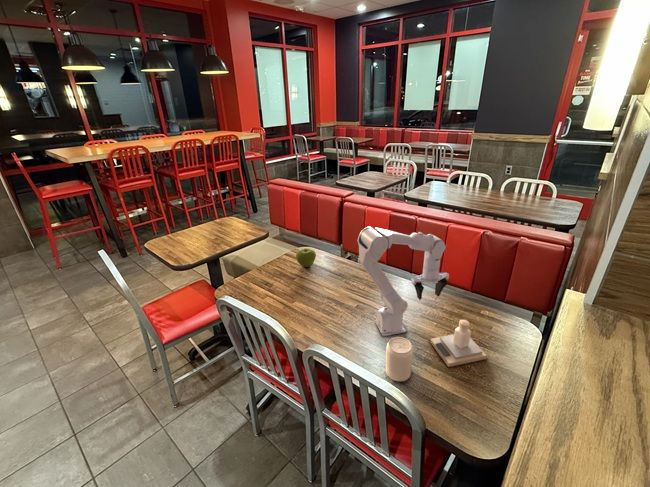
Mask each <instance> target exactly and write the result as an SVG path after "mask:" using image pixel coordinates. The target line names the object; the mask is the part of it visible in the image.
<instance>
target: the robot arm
mask: <svg viewBox="0 0 650 487" xmlns="http://www.w3.org/2000/svg"><path fill="white" fill-rule="evenodd" d="M357 244H358V255H359V256H358V257H359V258H358V259H359V262H360V264H361V266H362V267H363V268H364V270H365V272H366V273H367V275H368V276H369V277H370V279H371V281H372V282H373V283H374V285H375V286H376V287H377V289H378V292H379V294H380V299H381V301H382V302H383V307H382V308H379V309H378V310H377V311H376V322H375V324H376V326H377V328H378V330H379V332H380V334H381V335H382V337H387V336H391V335H398V334H403V333H406V332H407V330H406V328H405V326H404V325H403V321H404V320H403V318H404V313H405V312H407V309H408V307H409V304H408V301H407V300H405V299H404V298H403V297H402V296H401V295H400V294H399V293H398V292H397V291H396V290H395V288H394V286H393V285H392V283H391V282H390V280H389V279H388V277H387V276H386V274H385V272H384V271H383V269H382V268H381V266H380V265H379V263H378V262H379V261H380V259H381V257H382V256H383V255H384V254H385V252H386V251H387V249H388V250H389V249H390V248H391V247H392V246H393V245H394V244H395V245H405V246H408V247H409V249H411V250H415V251H416V250H417V251H422V252H424V256H423V265H422V266H423V267H422V273H421V274H420V275H417V276H415V277H411V280H410V283H411V284H412V285H413V286H414V289H415V292H416V298H417V299H418V300H419V301H421V300H422V298H423V297H422V296H423V292H424V289H425V286H424V285H423V283H431V284H432V285H434V284H435V286H434V287H435V288H434V294H435V296H436V297H440V295H441V293H442V292H443V290H444V288H445V287H446V286H447V285H448V280H449V278H450V274H449V273H448V272H440V268H441V267H440V266H441V260H442V257H443V254H444V252H445V250H446V248H447V246H446V244H445V241H444V240H443V239H441V238H439V237H438V236H436V235H434V234H432V233H428V234H424V232H421V231H418V232H412V233H411V234H406V233H401V232H397V231H393V230H389V229H384V228H380V227H371V226H367V227H364V228H363V229H362V230H361V231H360V232H359V235H358V238H357Z"/></svg>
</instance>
